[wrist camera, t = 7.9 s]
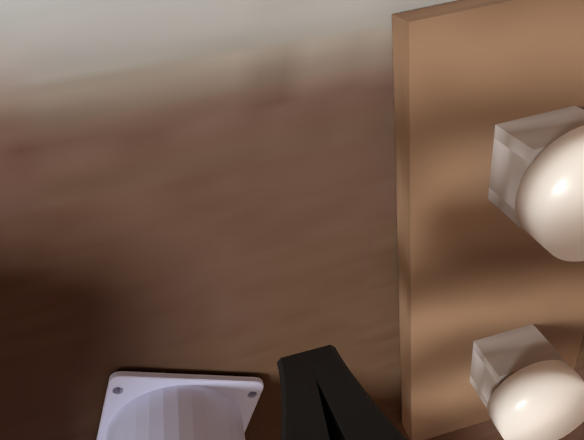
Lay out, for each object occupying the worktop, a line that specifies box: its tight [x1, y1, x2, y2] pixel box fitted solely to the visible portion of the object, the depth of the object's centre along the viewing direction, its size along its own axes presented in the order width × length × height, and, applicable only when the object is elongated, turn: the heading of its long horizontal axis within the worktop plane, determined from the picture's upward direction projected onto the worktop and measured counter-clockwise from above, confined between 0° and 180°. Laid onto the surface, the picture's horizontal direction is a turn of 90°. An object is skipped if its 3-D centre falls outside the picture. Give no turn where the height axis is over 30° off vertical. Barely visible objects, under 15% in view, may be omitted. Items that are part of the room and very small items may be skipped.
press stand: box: [392, 0, 584, 440], centre depth 24 cm, size 26×11×4 cm, turn 8°
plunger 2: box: [487, 360, 584, 440], centre depth 27 cm, size 5×5×4 cm
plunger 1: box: [515, 126, 584, 262], centre depth 19 cm, size 5×5×4 cm
